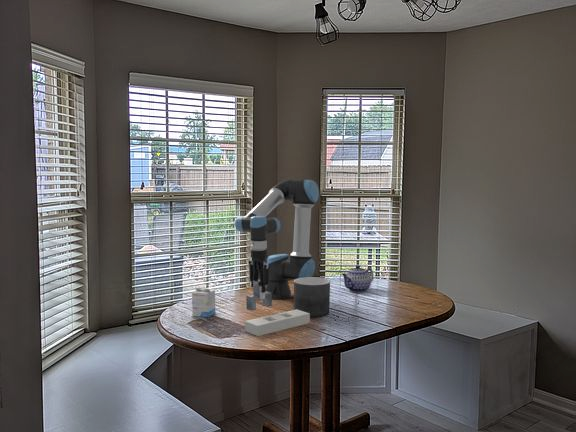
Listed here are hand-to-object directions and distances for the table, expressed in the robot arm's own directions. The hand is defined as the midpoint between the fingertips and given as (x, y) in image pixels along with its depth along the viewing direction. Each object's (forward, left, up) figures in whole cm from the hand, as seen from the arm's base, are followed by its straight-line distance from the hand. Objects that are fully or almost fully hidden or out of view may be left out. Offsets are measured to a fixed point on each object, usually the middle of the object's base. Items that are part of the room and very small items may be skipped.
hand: (259, 297), depth 247 cm
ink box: (-21, -18, -10) cm, 29 cm away
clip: (0, 0, -5) cm, 5 cm away
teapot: (-8, +78, -10) cm, 79 cm away
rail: (+17, -3, -9) cm, 20 cm away
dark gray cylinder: (+9, +25, -10) cm, 29 cm away
